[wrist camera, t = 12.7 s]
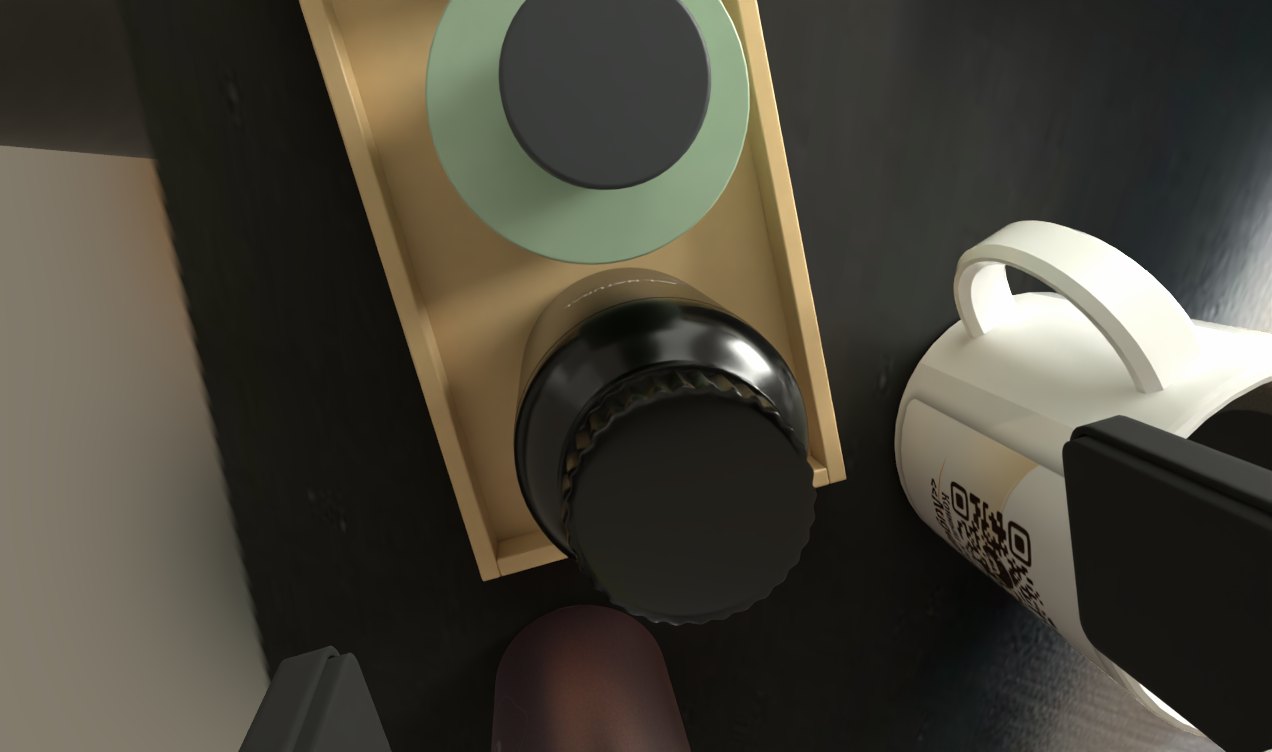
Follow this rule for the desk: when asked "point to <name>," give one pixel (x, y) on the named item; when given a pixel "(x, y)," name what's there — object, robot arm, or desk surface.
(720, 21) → the middle bottle
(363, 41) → the tray
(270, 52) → the desk surface
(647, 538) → the supplement bottle
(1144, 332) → the mug
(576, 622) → the beverage can
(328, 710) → the robot arm
